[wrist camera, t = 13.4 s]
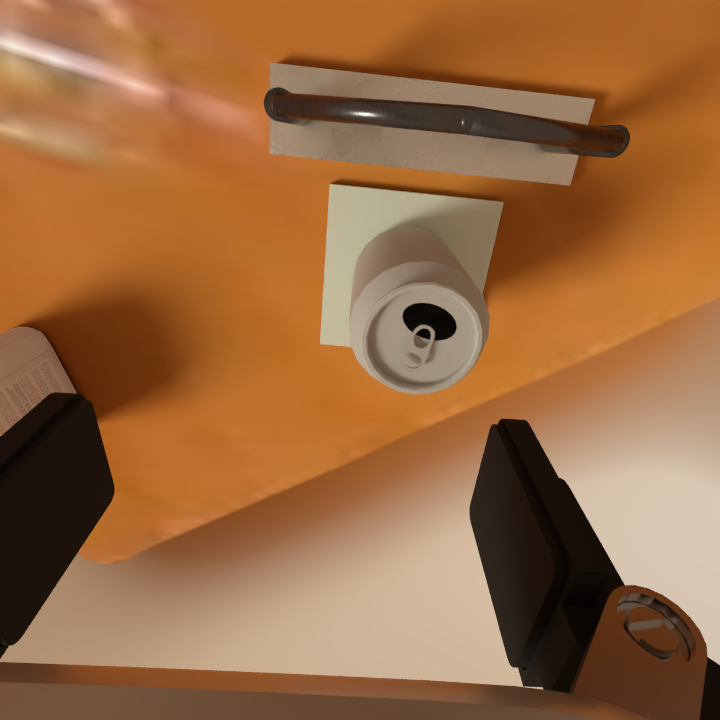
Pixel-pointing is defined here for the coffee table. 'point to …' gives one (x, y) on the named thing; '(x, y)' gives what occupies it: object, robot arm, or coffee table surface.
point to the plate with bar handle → (433, 125)
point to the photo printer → (27, 374)
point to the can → (415, 312)
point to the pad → (383, 212)
